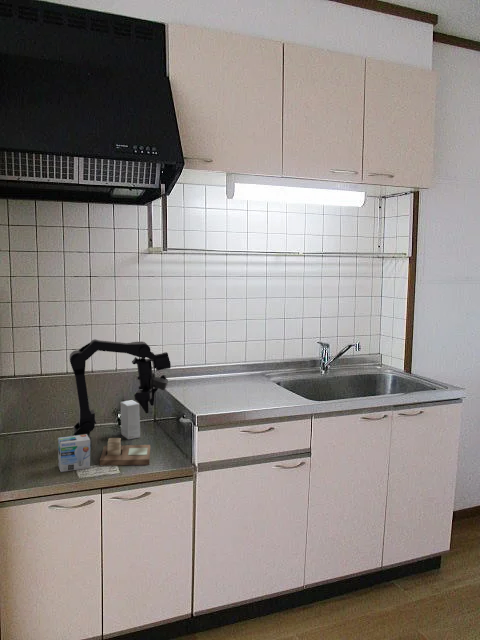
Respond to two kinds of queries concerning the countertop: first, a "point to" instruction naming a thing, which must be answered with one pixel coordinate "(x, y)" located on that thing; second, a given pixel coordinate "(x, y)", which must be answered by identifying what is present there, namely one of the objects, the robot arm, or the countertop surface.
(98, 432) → the countertop surface
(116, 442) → the maple block
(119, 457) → the pocket board
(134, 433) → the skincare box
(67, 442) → the light bulb box
